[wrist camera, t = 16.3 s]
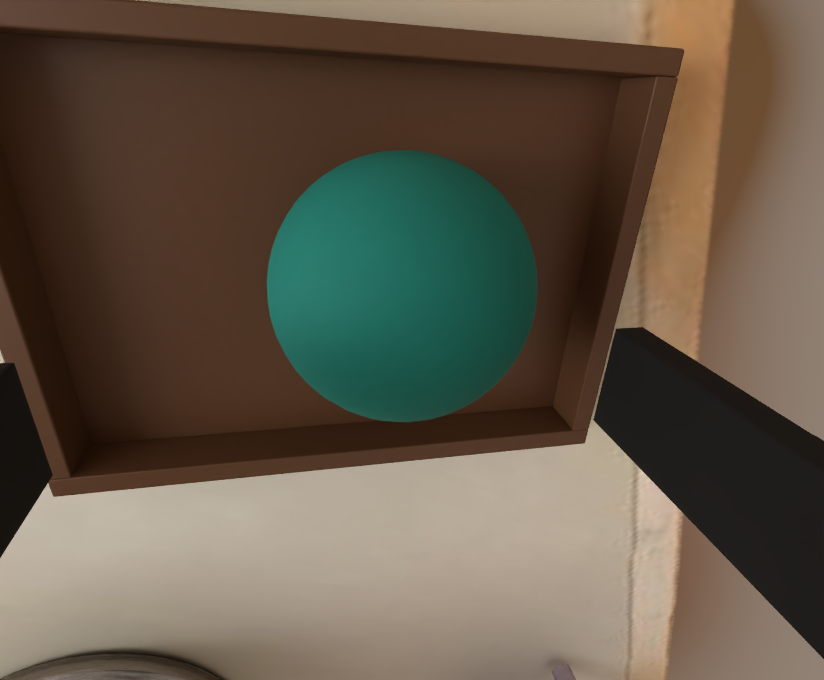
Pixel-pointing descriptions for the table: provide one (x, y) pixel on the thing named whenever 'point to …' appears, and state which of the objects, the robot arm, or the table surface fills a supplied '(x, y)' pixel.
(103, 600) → the table surface
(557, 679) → the toy sheep
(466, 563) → the table surface
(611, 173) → the tray
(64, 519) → the table surface
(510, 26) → the table surface
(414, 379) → the ball
